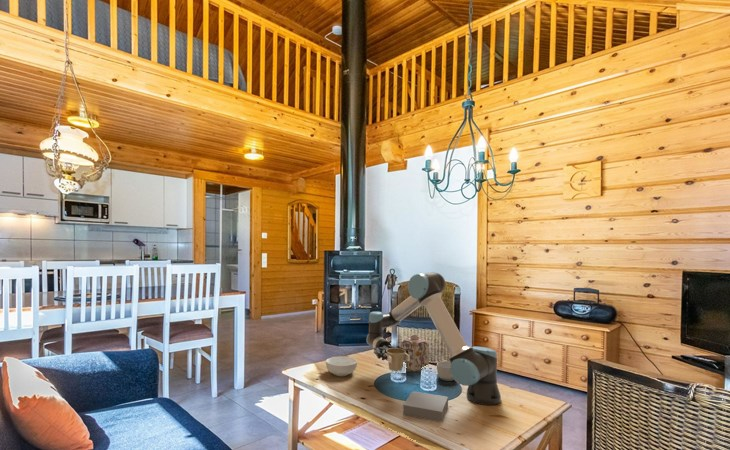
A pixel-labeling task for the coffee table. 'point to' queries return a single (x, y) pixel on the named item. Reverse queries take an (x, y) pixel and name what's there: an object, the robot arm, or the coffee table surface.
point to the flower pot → (396, 358)
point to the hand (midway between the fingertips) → (400, 359)
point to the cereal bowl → (341, 365)
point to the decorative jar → (416, 352)
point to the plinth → (426, 406)
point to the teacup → (444, 370)
